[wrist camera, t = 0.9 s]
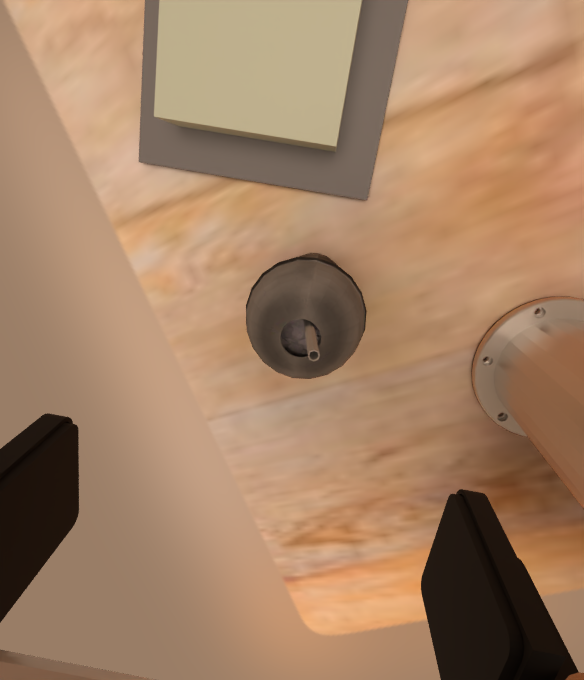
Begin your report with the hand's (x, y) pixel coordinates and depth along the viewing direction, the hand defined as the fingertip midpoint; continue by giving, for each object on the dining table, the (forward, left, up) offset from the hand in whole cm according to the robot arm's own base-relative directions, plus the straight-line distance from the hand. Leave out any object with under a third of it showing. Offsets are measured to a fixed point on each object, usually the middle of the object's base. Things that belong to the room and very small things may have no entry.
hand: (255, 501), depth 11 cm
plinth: (+6, -16, -28) cm, 33 cm away
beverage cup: (0, 0, -28) cm, 28 cm away
